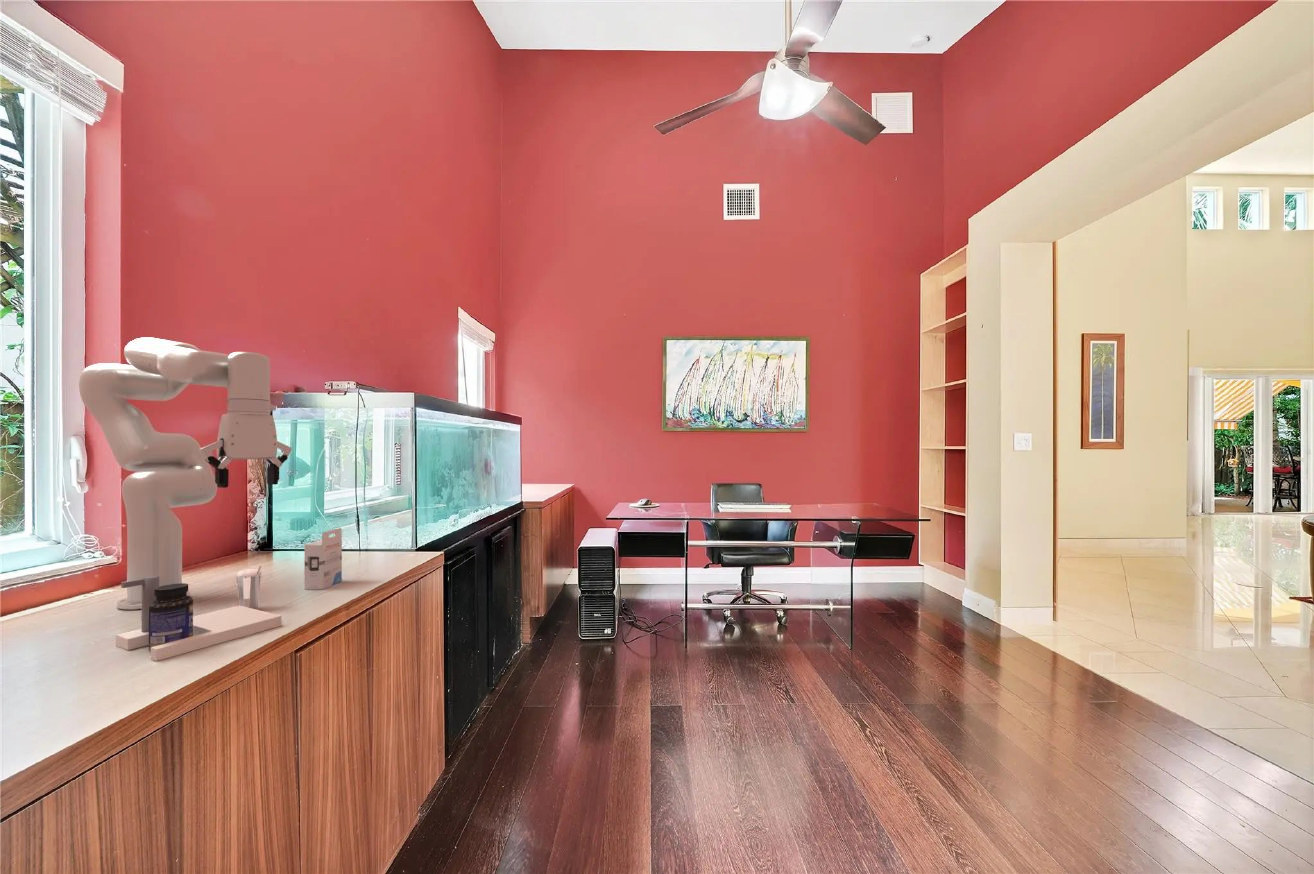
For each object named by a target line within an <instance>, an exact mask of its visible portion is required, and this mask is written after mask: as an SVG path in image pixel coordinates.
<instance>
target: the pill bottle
mask: <svg viewBox="0 0 1314 874" xmlns="http://www.w3.org/2000/svg"><path fill="white" fill-rule="evenodd" d="M189 590H190V589H189V583H183V582H182V583H179V584H169V585H164V586H160V587H157V588H155V589H154V596H155V597H156V600H155V601H153V602H152V603H151V604H150V606H149V645H148V649H149V650H150V651H151V647H154V646H158V645H162V644H166V643H169V642H173V641H177V640H181V639H185V638H188V637H192V636H193V616H194V598H192V597H191V595H190V596H187V592H188V591H189Z"/></svg>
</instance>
